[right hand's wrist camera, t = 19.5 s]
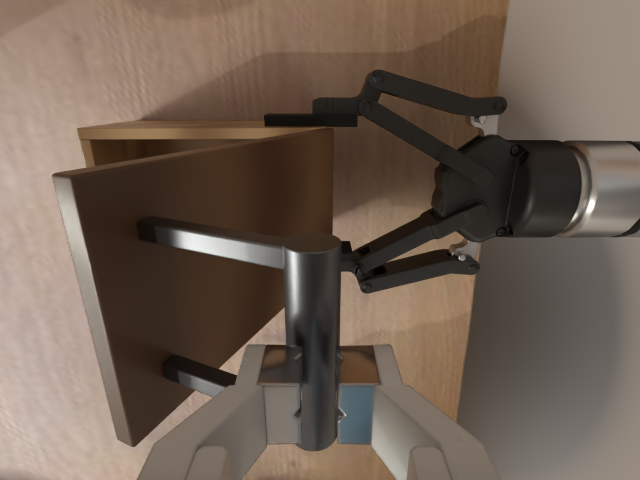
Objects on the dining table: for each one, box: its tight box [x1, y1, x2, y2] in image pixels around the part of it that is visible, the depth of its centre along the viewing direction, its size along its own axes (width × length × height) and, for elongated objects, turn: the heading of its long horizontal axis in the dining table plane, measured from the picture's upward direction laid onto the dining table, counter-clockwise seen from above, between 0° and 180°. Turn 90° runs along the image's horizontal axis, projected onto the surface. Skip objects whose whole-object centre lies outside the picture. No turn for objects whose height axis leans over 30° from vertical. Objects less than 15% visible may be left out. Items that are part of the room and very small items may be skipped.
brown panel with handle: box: [52, 128, 342, 451], centre depth 18 cm, size 18×10×8 cm
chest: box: [77, 120, 327, 168], centre depth 32 cm, size 17×10×9 cm, turn 90°
